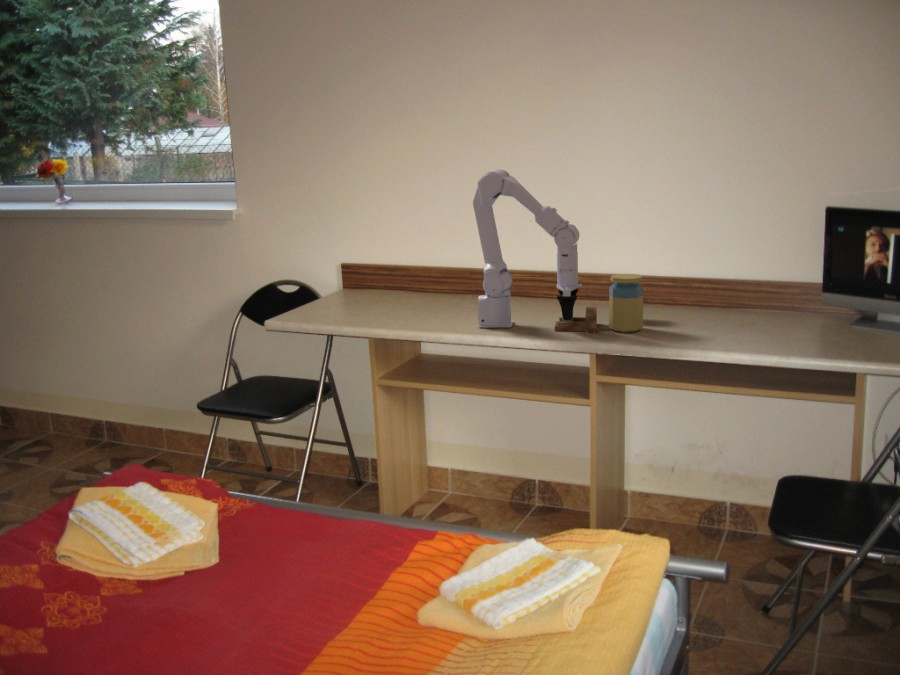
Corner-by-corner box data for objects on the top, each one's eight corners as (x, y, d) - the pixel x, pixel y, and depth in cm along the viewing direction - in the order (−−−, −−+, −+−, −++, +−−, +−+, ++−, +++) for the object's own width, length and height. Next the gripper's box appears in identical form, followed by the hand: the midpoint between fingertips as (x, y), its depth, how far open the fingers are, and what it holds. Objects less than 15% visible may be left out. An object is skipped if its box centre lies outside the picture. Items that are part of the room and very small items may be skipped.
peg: (562, 329, 262) (562, 299, 260) (562, 327, 265) (562, 297, 263) (573, 329, 261) (573, 299, 259) (573, 326, 264) (572, 297, 262)
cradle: (554, 332, 258) (554, 316, 257) (556, 323, 269) (556, 307, 268) (596, 332, 256) (596, 315, 255) (596, 323, 268) (596, 306, 266)
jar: (641, 334, 253) (642, 279, 249) (607, 333, 255) (607, 279, 252) (644, 326, 262) (644, 273, 258) (611, 325, 264) (611, 273, 261)
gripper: (581, 273, 252) (581, 322, 255) (582, 264, 265) (582, 311, 269) (555, 273, 253) (555, 322, 256) (557, 265, 267) (558, 311, 270)
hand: (567, 316), depth 262 cm, fingers open, 7 cm apart
